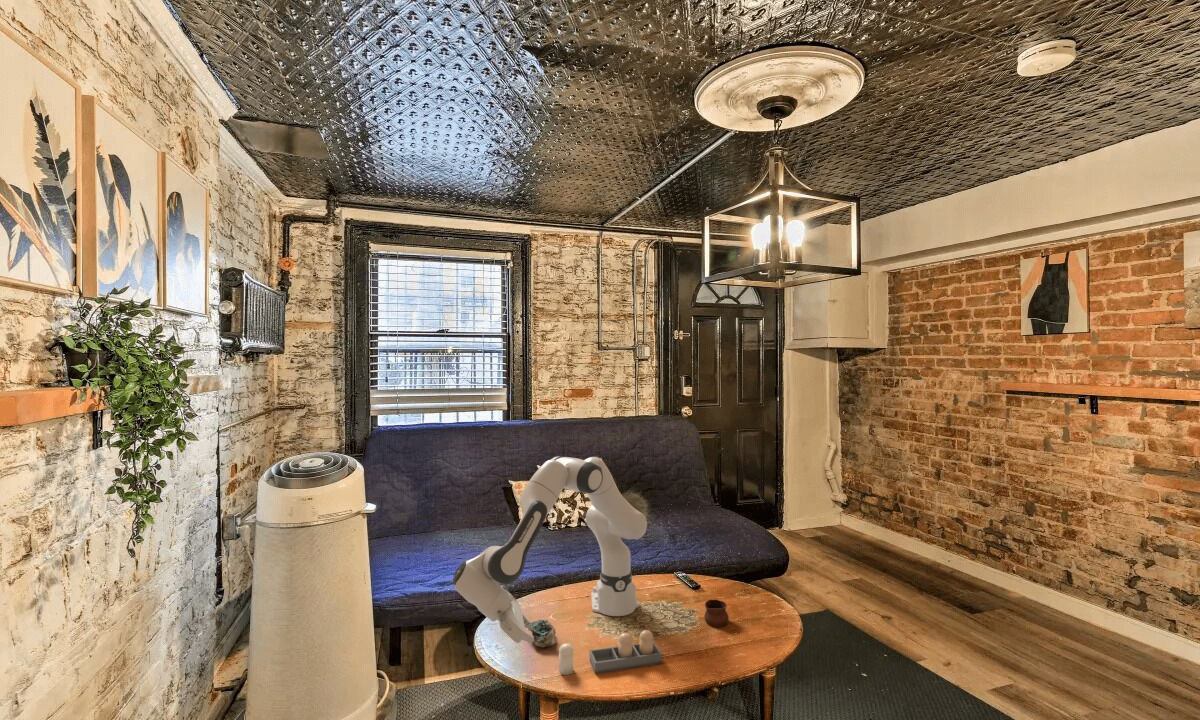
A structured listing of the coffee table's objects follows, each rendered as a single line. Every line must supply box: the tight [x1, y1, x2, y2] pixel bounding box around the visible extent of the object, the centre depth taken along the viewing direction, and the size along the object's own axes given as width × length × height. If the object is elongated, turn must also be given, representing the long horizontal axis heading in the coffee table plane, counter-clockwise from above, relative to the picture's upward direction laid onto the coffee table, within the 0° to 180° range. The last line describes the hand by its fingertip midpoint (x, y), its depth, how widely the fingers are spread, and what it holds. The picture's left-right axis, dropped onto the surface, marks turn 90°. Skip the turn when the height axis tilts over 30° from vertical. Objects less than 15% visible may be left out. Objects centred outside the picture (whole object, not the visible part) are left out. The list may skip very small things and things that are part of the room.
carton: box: [589, 629, 663, 675], centre depth 174 cm, size 8×22×9 cm, turn 104°
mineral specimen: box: [527, 619, 557, 648], centre depth 186 cm, size 12×9×8 cm
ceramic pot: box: [703, 599, 729, 628], centre depth 199 cm, size 18×18×7 cm
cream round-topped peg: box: [558, 643, 574, 676], centre depth 169 cm, size 4×4×8 cm
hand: (530, 632), depth 167 cm, fingers open, 8 cm apart
